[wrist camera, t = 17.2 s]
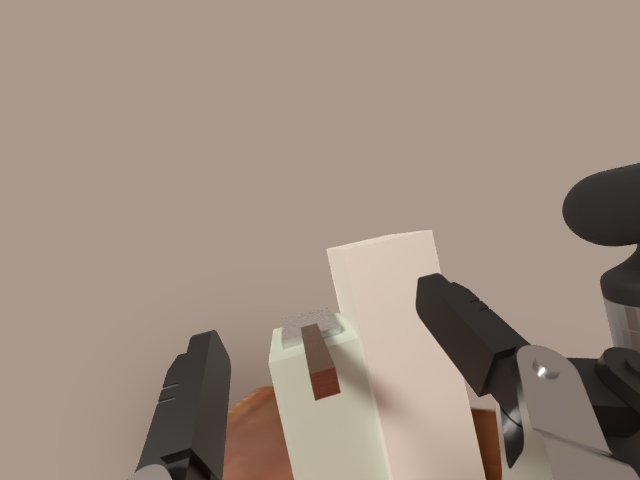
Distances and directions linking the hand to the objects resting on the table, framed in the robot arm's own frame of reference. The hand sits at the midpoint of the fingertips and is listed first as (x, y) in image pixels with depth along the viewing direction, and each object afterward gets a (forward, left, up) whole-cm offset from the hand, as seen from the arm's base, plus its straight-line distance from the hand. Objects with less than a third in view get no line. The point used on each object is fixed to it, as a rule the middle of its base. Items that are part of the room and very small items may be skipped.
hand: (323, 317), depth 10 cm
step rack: (-5, -23, -30) cm, 38 cm away
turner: (0, -20, -9) cm, 22 cm away
